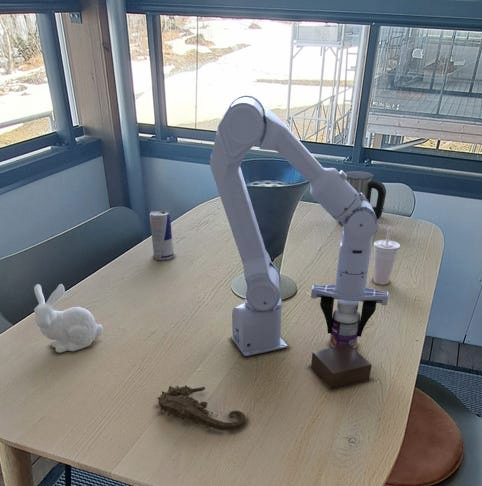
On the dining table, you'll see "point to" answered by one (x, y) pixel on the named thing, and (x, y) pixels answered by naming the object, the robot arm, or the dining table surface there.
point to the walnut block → (340, 366)
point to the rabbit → (65, 323)
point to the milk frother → (367, 188)
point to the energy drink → (161, 234)
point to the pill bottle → (345, 324)
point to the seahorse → (194, 408)
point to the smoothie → (384, 259)
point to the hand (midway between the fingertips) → (344, 332)
